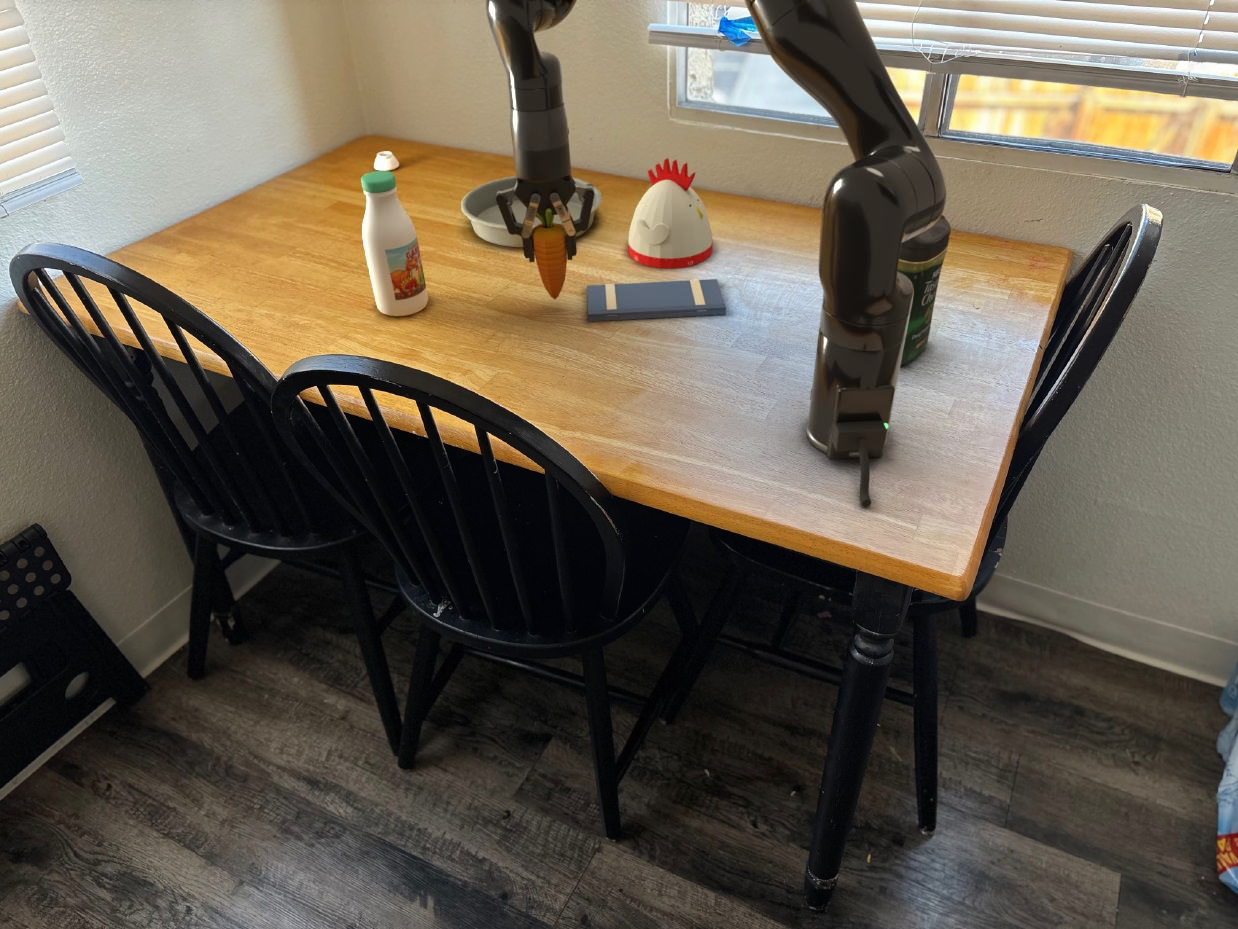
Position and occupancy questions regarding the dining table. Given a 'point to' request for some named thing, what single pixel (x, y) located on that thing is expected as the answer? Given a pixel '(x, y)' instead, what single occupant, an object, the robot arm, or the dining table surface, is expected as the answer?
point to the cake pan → (489, 218)
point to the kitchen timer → (670, 222)
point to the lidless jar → (385, 161)
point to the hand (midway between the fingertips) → (551, 258)
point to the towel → (654, 300)
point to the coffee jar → (923, 281)
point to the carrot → (550, 253)
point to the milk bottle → (391, 248)
